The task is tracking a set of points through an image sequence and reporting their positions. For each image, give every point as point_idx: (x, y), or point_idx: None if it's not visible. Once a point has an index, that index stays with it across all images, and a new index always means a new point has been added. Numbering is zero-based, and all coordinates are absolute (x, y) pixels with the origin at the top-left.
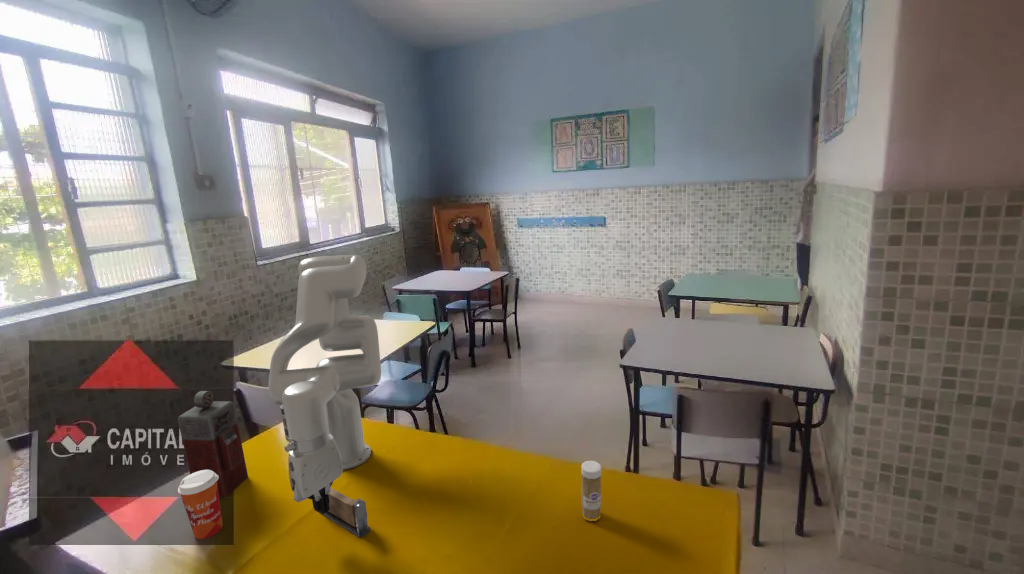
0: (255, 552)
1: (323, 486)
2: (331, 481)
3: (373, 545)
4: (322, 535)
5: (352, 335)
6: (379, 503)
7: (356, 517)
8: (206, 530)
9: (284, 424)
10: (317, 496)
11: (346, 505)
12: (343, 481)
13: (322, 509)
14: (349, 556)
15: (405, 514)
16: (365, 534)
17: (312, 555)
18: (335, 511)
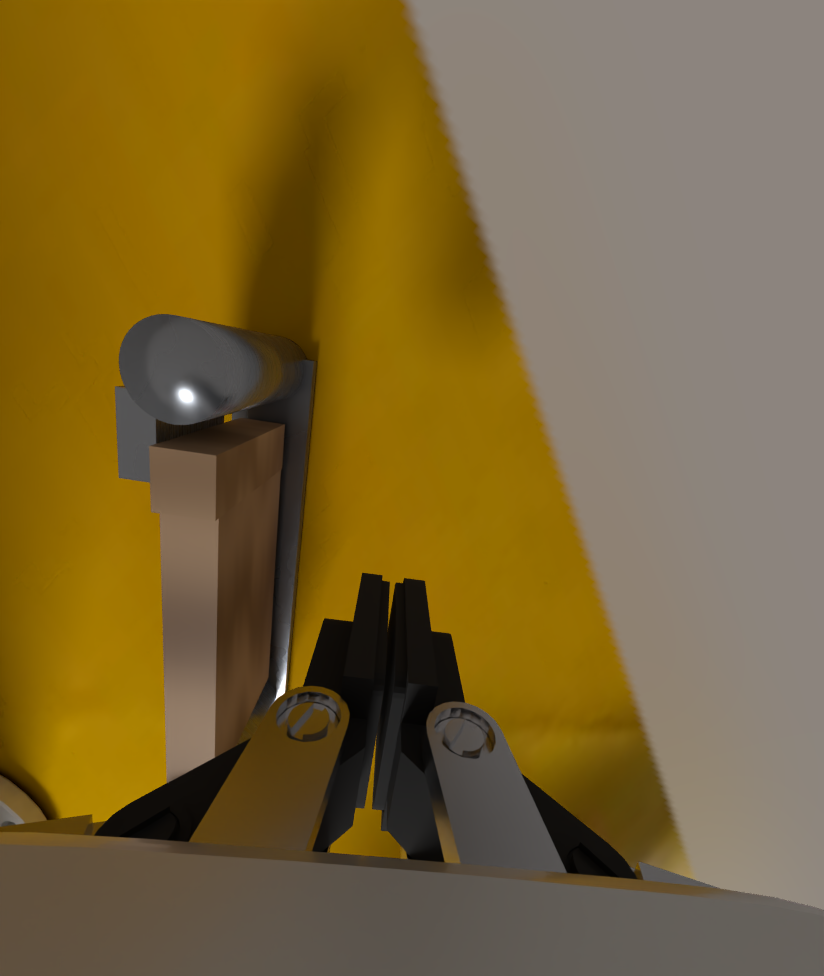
0: (575, 735)
1: (459, 913)
2: (180, 878)
3: (322, 230)
4: (390, 558)
5: None
6: (69, 448)
7: (266, 376)
8: None
9: None
10: (476, 763)
11: (227, 522)
12: (78, 734)
13: (426, 607)
14: (442, 311)
15: (31, 214)
16: (285, 339)
17: (506, 505)
18: (263, 600)
